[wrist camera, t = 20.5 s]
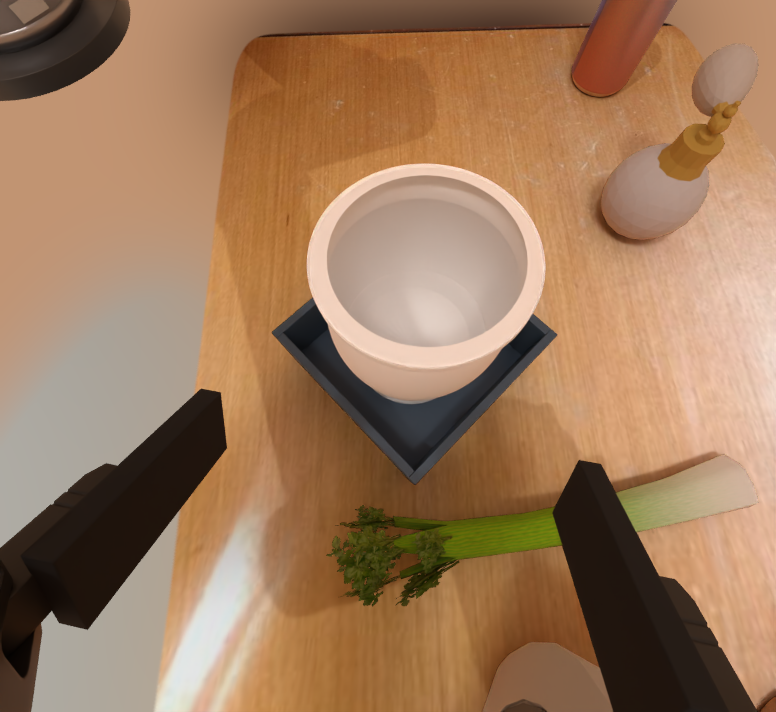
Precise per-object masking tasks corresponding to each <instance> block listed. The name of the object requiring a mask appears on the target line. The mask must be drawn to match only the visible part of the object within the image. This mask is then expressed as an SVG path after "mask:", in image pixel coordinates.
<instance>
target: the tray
mask: <svg viewBox="0 0 776 712" xmlns="http://www.w3.org/2000/svg"><path fill="white" fill-rule="evenodd" d="M272 334H273V335H274V336H275V337H276V338H277V339H278V341H279V342H280V343H281V344H282V345H283V346H284V347H285V348H286V350H287V351H288V352H289V353H290V354H291V355H292V356H293V357H294V358H295V359H296V360H297V362H298V363H299V364H300V365H301V366H302V367H303V368H304V369H305V370H306V371H307V372H308V373H309V374H310V375H311V376H312V378H313V379H314V380H315V381H316V382H317V383H318V384H319V385H320V386H321V387H322V388H323V389H324V390H325V391H326V392H327V393H328V395H329V396H330V397H331V398H332V399H333V400H334V401H335V402H336V403H337V404H338V405H339V406H340V407H341V408H342V409H343V410H344V412H345V413H346V414H347V415H348V416H349V417H350V418H351V419H352V420H353V421H354V422H355V423H356V424H357V425H358V426H359V427H360V429H361V430H362V431H363V432H364V433H365V434H366V435H367V436H368V437H369V438H370V439H371V440H372V441H373V442H374V443H375V445H376V446H377V447H378V448H379V449H380V450H381V451H382V452H383V453H384V454H385V455H386V456H387V457H388V458H389V459H390V460H391V462H392V463H393V464H394V465H395V466H396V467H397V468H398V469H399V470H400V471H401V472H402V473H403V474H404V475H405V476H406V477H407V479H408V480H409V481H410V482H412V483H413V484H414V485H416V484H417V483H418V482H419V481H420V480H421V479H422V478H423V476H424V475H425V474H426V473H427V472H428V471H429V470H430V469H431V468H432V467H433V466H434V465H435V464H436V463H437V462H438V461H439V460H440V459H441V457H442V456H443V455H444V454H445V453H446V452H447V451H448V450H449V449H450V448H451V447H452V446H453V445H454V444H455V443H456V442H457V441H458V440H459V438H460V437H461V436H462V435H463V434H464V433H465V432H466V431H467V430H468V429H469V428H470V427H471V426H472V425H473V424H474V423H475V422H476V421H477V420H478V418H479V417H480V416H481V415H482V414H483V413H484V412H485V411H486V410H487V409H488V408H489V407H490V406H491V405H492V404H493V403H494V402H495V401H496V399H497V398H498V397H499V396H500V395H501V394H502V393H503V392H504V391H505V390H506V389H507V388H508V387H509V386H510V385H511V384H512V383H513V382H514V380H515V379H516V378H517V377H518V376H519V375H520V374H521V373H522V372H523V371H524V370H525V369H526V368H527V367H528V366H529V365H530V364H531V363H532V362H533V360H534V359H535V358H536V357H537V356H538V355H539V354H540V353H541V352H542V351H543V350H544V349H545V348H546V347H547V346H548V345H549V344H550V343H551V341H552V340H553V339H554V338H555V337H556V336H557V334H556V333H555V332H554V331H553V330H550V328H549V327H548V326H547V325H546V324H544V323H543V322H542V321H541V320H540V319H538V318H537V317H536V316H535V315H534V314H532V315H531V317H530V319H529V320H528V322H527V323H526V325H525V326H524V327H523V329H522V330H521V331H520V332H519V333H518V334H517V336H516V337H515V338H514V339H513V340H512V341H510V342H509V343H508V344H507V345H506V346H504V347H503V348H502V349H501V351H500V352H499V354H498V355H497V357H496V358H495V359H494V361H493V362H492V363H491V364H490V365H489V366H488V367H487V369H486V370H485V371H484V372H483V373H481V374H480V375H479V376H478V377H477V378H476V379H474V380H473V381H472V382H470V383H469V384H467V385H466V386H464V387H462V388H461V389H459V390H457V391H455V392H452V393H450V394H447V395H445V396H442V397H438V398H435V399H433V400H431V401H428V402H424V403H419V404H403V403H398V402H394V401H391V400H389V399H387V398H385V397H383V396H381V395H380V394H378V393H377V392H376V391H375V390H374V389H373V388H371V387H370V386H368V385H367V384H365V383H364V382H363V381H362V380H360V379H359V378H358V377H357V376H356V375H355V374H354V373H353V372H352V371H351V370H350V369H349V367H348V366H347V365H346V363H345V362H344V361H343V359H342V358H341V356H340V354H339V353H338V351H337V349H336V347H335V345H334V342H333V340H332V337H331V334H330V331H329V328H328V324H327V322H326V321H325V319H324V318H323V316H322V314H321V312H320V311H319V309H318V307H317V305H316V303H315V301H314V299H313V298H312V299H310V300H309V301H308V302H307V303H306V304H304V305H303V306H302V307H301V308H300V309H299V310H297V311H296V312H295V313H294V314H293V315H291V316H290V317H289V318H288V319H287V320H286V321H284V322H283V323H282V324H281V325H280V326H278V327H277V328H276V329H275V330H274V331H272Z"/></svg>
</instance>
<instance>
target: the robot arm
mask: <svg viewBox="0 0 776 712" xmlns="http://www.w3.org/2000/svg"><path fill="white" fill-rule="evenodd" d="M82 1H83V0H0V54H7V53H13V52H18V51H22V50H25V49H28V48H31V47H34V46H36V45H39V44H41V43H43V42H45V41H47V40H49V39H50V38H52V37H54V36H55V35H57V34H58V33H59V32H61V31H62V30H63V29H64V28H65V27H67V26H68V25H69V24H70V22H71V21H72V20H73V19H74V18H75V16H76V15H77V13H78V11H79V9H80V7H81V4H82ZM226 449H227V444H226V435H225V427H224V418H223V409H222V400H221V392H216V391H210V390H205V389H200V390H199V391H198V392H197V393H196V394H195V395H194V396H193V397H192V398H191V399H189V400H188V401H187V402H186V403H185V404H184V405H183V406H182V407H181V408H180V409H179V410H178V411H176V412H175V413H174V414H173V415H172V416H171V417H170V418H169V419H168V420H167V421H166V422H164V423H163V424H162V425H161V426H160V427H159V428H158V429H157V430H156V431H155V432H154V433H153V434H151V435H150V436H149V437H148V438H147V439H146V440H145V441H144V442H143V443H142V444H141V445H140V446H139V447H137V448H136V449H135V450H134V451H133V452H132V453H131V454H130V455H129V456H128V457H127V458H126V459H124V460H123V461H122V462H121V463H120V464H119V465H118V466H116V465H111V464H104V465H102V466H100V467H98V468H97V469H95V470H93V471H91V472H89V473H87V474H85V475H84V476H83V477H82V478H81V479H80V480H78V481H77V482H76V483H75V484H74V485H73V486H72V487H70V488H69V489H68V492H65V493H63V494H62V495H61V496H60V497H59V498H58V499H56V500H55V501H54V504H53V505H49V506H48V507H47V508H46V509H45V510H44V511H43V512H41V513H40V514H39V515H38V516H37V517H36V518H34V519H33V520H32V521H31V522H30V523H29V524H28V525H26V526H25V527H24V528H23V529H22V530H21V531H19V532H18V533H17V534H16V535H15V536H14V537H12V538H11V539H10V540H9V541H8V542H7V543H6V544H4V545H3V546H2V547H1V548H0V712H31V708H32V702H33V694H34V687H35V680H36V673H37V665H38V659H39V651H40V644H41V637H42V627H41V622H42V621H43V620H44V619H45V618H46V616H47V615H48V614H49V613H50V612H51V611H53V613H54V615H55V617H56V618H57V620H58V622H59V623H62V624H66V625H70V626H74V627H78V628H83V629H87V630H88V629H89V627H90V626H91V625H92V623H93V622H94V621H95V619H96V618H97V617H98V616H99V614H100V613H101V611H102V610H103V609H104V608H105V606H106V605H107V604H108V602H109V601H110V600H111V599H112V597H113V596H114V595H115V593H116V592H117V591H118V589H119V588H120V587H121V586H122V584H123V583H124V582H125V580H126V579H127V578H128V576H129V575H130V574H131V573H132V571H133V570H134V569H135V567H136V566H137V565H138V563H139V562H140V561H141V559H142V558H143V557H144V556H145V554H146V553H147V552H148V550H149V549H150V548H151V546H152V545H153V544H154V543H155V541H156V540H157V539H158V537H159V536H160V535H161V533H162V532H163V531H164V529H165V528H166V527H167V526H168V524H169V523H170V522H171V520H172V519H173V518H174V516H175V515H176V514H177V512H178V511H179V510H180V509H181V507H182V506H183V505H184V503H185V502H186V501H187V500H188V498H189V497H190V496H191V494H192V493H193V492H194V490H195V489H196V488H197V486H198V485H199V484H200V483H201V481H202V480H203V479H204V477H205V476H206V475H207V473H208V472H209V471H210V470H211V468H212V467H213V466H214V464H215V463H216V462H217V460H218V459H219V458H220V457H221V455H222V454H223V453H224V451H225V450H226ZM552 514H553V517H554V520H555V524H556V527H557V530H558V533H559V537H560V540H561V543H562V546H563V550H564V553H565V556H566V559H567V563H568V566H569V569H570V572H571V576H572V579H573V582H574V586H575V589H576V592H577V595H578V599H579V602H580V605H581V608H582V612H583V615H584V618H585V621H586V625H587V628H588V631H589V634H590V638H591V641H592V644H593V647H594V651H595V654H596V657H597V661H598V664H599V667H600V670H601V674H602V677H603V680H604V683H605V687H606V690H607V693H608V696H609V700H610V703H611V706H612V709H613V712H757V710H756V708H755V706H754V705H753V703H752V701H751V699H750V698H749V696H748V694H747V692H746V691H745V689H744V687H743V685H742V684H741V682H740V680H739V678H738V677H737V675H736V673H735V671H734V670H733V668H732V666H731V664H730V662H729V661H728V659H727V657H726V655H725V654H724V652H723V650H722V648H720V647H719V646H718V641H717V640H716V638H715V636H714V634H713V633H712V631H711V629H710V628H708V627H707V622H706V620H705V619H704V617H703V615H702V613H701V612H700V610H699V608H698V606H697V605H696V603H695V601H694V600H693V599H692V598H691V596H690V595H689V594H688V593H687V592H686V591H685V590H684V589H683V587H682V586H681V585H680V584H679V583H678V582H677V581H676V580H675V579H671V578H666V577H661V576H659V575H658V573H657V571H656V569H655V567H654V565H653V563H652V562H651V560H650V558H649V556H648V554H647V552H646V550H645V548H644V546H643V544H642V542H641V540H640V538H639V536H638V535H637V533H636V531H635V529H634V527H633V525H632V523H631V521H630V519H629V517H628V515H627V513H626V511H625V509H624V508H623V506H622V504H621V502H620V500H619V498H618V496H617V494H616V492H615V490H614V488H613V486H612V484H611V482H610V481H609V479H608V477H607V475H606V473H605V471H604V469H603V467H602V465H601V464H597V463H591V462H586V461H581V460H579V461H578V463H577V465H576V467H575V469H574V471H573V472H572V474H571V476H570V478H569V480H568V482H567V484H566V486H565V488H564V490H563V492H562V494H561V496H560V498H559V500H558V502H557V504H556V506H555V508H554V510H553V512H552Z"/></svg>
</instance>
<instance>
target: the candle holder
mask: <svg viewBox="0 0 776 712" xmlns="http://www.w3.org/2000/svg"><path fill="white" fill-rule="evenodd" d="M761 712H776V697H774V698H773V699H771V700H770V701H769V702H768V703H767V704H766V705H765V706H764V707H763V709H762V710H761Z"/></svg>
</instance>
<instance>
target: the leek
mask: <svg viewBox="0 0 776 712" xmlns="http://www.w3.org/2000/svg"><path fill="white" fill-rule="evenodd" d="M616 494H617V496H618V498H619V500H620V502H621V504H622V506H623V508H624V509H625V511H626V513H627V515H628V517H629V519H630V521H631V523H632V525H633V527H634V529H635V531H636V532H640V531H644V530H649V529H653V528H658V527H662V526H667V525H671V524H675V523H680V522H685V521H690V520H694V519H698V518H703V517H707V516H712V515H716V514H721V513H725V512H730V511H734V510H738V509H743V508H747V507H751V506H753V505H755V504H757V503H759V502H758V496H757V493H756V491H755V488H754V485H753V482H752V481H751V479H750V477H749V475H748V473H747V472H746V470H745V469H744V468H743V466H742V465H741V464H740V463H738V462H737V461H735V460H733V459H731V458H730V457H728V456H726V455H725V454H723V455H720V456H718V457H715V458H713V459H711V460H708V461H706V462H703V463H701V464H699V465H696V466H694V467H691V468H689V469H686V470H684V471H682V472H679V473H677V474H674V475H672V476H669V477H667V478H665V479H661V480H658V481H654V482H651V483H647V484H644V485H640V486H637V487H633V488H630V489H626V490H623V491H619V492H616ZM363 508H365V506H364V505H362V506H360V509H359V512H360V513H359V516H356V517H358V518H360V516H362V517H361V518H360V519H359V520H358V521H355V522H354V523H356V524H357V523H358V524H357V525H355V524H353V523H349V524H351V525H349V524H347V525H345V524H346V523H344V522H343V523H340V525H345V526H346V527H350V528H355V527H357V528H361V529H363V530H362V531H359V532H358V533H355V532H351V533H347V535H348V538H349V543H347V540H346V541H345V542H344V543H343V545H344V546H343V548H342V549H343V550H342V549H341V548H340V542H341V541H340V540H341V539H340V538H339V539H338V537H337V536H335V538H334V540H333V542H332V543H333V544H332V546H333V547H334V548H335V549H332V551H333V553H331V554H327V555H326V556H329V557H330V556H332V555H334V556H336V557H339V559H337V563H339V564H338V565H341V566H344V565H346V567H340V569H339V570H338V571H339V572H342V571H344V569H345V571H344V574H343V575H344V583H345V584H346V583H347V584H348V583H350V582H351V580H352V579H353V578H354V579H353V580H354V583H352V589H354V588H355V589H356V590H354V591H355V592H354V591H353V593H352V592H351V591H350V592H351V593H350V592H347V593H345V595H349V596H350V595H351V594H352V595H351V596H350V597H353V596H355V595H357V596H358V595H359V597H360V598H359V601H361V600H365V601H364V603H363V605H364V606H365V605H367V606H368V605H370V604H371V603H372V601H373V600H374V602H373V604H372V606H373V605H375V604H376V602H377V601H378V597H379V596H380V595H381V594H383V591H382V592H381V593H379V594H378V593H377V594H376V595H374V593H375V592H377V591H379V590H380V589H378V588H382V587H384V585H385V584H388V582H389V583H390V581H392V582H393V578H394V581H396V580H395V577H393V578H391V580H390V579H388V578H389V577H388V575H390V574H392V572H391V573H387V574H386V572H385V571H388V567H389V569H390V568H391V569H393V568H394V566H395V565H396V563H395V562H394V563H392V564H390V563H391V560H396V557H397V559H400V557H401V553H409V554H418V560H419V559H420V560H421V558H422V557H423V558H422V560H421V563H418V564H416V565H414V566H411V567H409V568H407V569H405V570H402V571H400V575H399V578H400V577H401V579H403V578H406V577H409V576H411V575H414V576H412V577H411V578H410V579H409V580H408V581H409V582H410V581H411V582H410V583H407V584H406V585H404V586H403V587H404V588H405V589H406V590H404V591H403V592H402V595H401V596H402V597H404V596H405V597H404V598H403V599H402V600H401V601H400V602H401V603H402V602H403V603H402V604H401V605H402V606H407V604H408V603H409V600H407V598H408V597H411V598H413V597H415V596H414V595H416V599H417V598H419V597H420V596H421V595H422V594H423V593H424V592H426V591H427V590H428V589H429V588H433V587H436V585H437V586H438V584H439V583H440V582H438V579H439V578H441V577H442V576H441V575H442V573H441V572H443V571H444V572H445V571H447V570H448V569H450V568H452V567H453V566H455V565H456V563H457V564H458V563H459V561H457V562H455V561H456V560H460V559H467V558H475V557H482V556H490V555H497V554H505V553H513V552H520V551H528V550H535V549H542V548H548V547H555V546H561V545H562V543H561V540H560V537H559V533H558V530H557V527H556V524H555V520H554V517H553V514H552V512H553V510H554V508H555V507H551V508H546V509H541V510H536V511H532V512H527V513H520V514H511V515H501V516H492V517H482V518H473V519H463V520H454V521H437V520H427V519H416V518H406V517H396V516H393V518H390V517H386V516H385V514H383V511H384V510H383V509H378V510H377V509H376V508H375V509H374V508H373V507H371V506H369V509H368V508H367V509H368V510H367V509H365V510H364V511H368V513H367V512H365V513H364V511H363ZM355 510H357V509H355ZM369 511H370V513H369ZM379 512H380V513H379ZM366 514H368V515H366ZM374 516H375V517H374ZM384 516H385V517H386V518H385V517H384ZM387 518H388V519H387ZM382 520H384V521H385V522H384V521H382ZM386 520H388V521H391V522H388V521H386ZM388 523H391V524H388ZM335 526H338V525H335ZM384 526H395V527H398V528H406V529H414V530H423V531H422V532H418V533H413V534H409V535H405V536H401V534H399V535H395V536H393V537H389V536H387V537H386V535H385V531H384V530H383V531H382V530H381V531H380V532H379V533H376V532H375V531H377V529H378V527H379V528H384V529H388V527H384ZM373 530H374V532H375V533H374V532H373ZM362 532H363V533H362ZM381 532H382V533H381ZM382 536H383V537H382ZM396 536H398V537H396ZM368 537H369V538H368ZM393 542H394V543H393ZM349 544H350V546H351V547H352V544H353V547H354V549H353V548H352V550H349V549H348V550H347V551H346V552H345V553H346V554H344V553H343V552H344V548H346V547H348V546H349ZM387 545H388V546H387ZM391 546H392V548H390V547H391ZM355 547H356V548H355ZM336 549H337V550H336ZM355 549H356V551H355ZM339 551H341V552H339ZM354 551H355V552H354ZM363 551H366V552H363ZM385 551H386V552H385ZM353 552H354V553H353ZM351 554H354V556H353V557H350V556H351ZM398 555H399V556H398ZM448 562H450V563H448ZM454 562H455V563H454ZM446 563H448V564H446ZM452 563H454V564H452ZM449 564H452V565H451V566H449V567H447V568H445V569H446V570H445V569H443V568H444V567H443V566H445V567H446V566H447V565H449ZM369 567H370V568H369ZM442 567H443V568H442ZM440 568H442V569H443V570H442V569H441V570H440V571H437V570H439V569H440ZM338 571H337V572H338ZM444 572H443V573H444ZM419 573H420V574H421V575H418V574H419ZM440 574H441V575H440ZM368 577H369V578H368ZM385 577H386V578H385ZM366 578H367V581H366V583H367V584H366V585H364V583H365V580H366ZM384 578H385V580H383V579H384ZM387 579H388V580H387ZM396 579H398V576H396ZM353 580H352V581H353ZM382 580H383V581H382ZM389 580H390V581H389ZM435 580H436V581H435ZM386 581H387V582H386ZM426 581H427V582H426ZM384 582H386V583H384ZM424 582H425V583H424ZM433 582H434V583H433ZM414 588H416V589H415V590H412V589H414ZM417 588H418V589H419V590H418V589H417ZM377 589H378V590H377ZM359 590H360V591H359ZM375 590H377V591H375ZM415 591H416V594H413V595H412V596H408V595H409V594H412V593H414V592H415ZM417 591H418V592H417ZM373 592H374V593H373ZM343 596H344V595H343ZM401 596H400V597H401ZM340 597H341V596H340ZM347 597H348V596H347ZM396 599H397V598H396ZM400 602H398V603H400ZM398 603H397V604H398ZM397 604H396V605H397Z"/></svg>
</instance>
